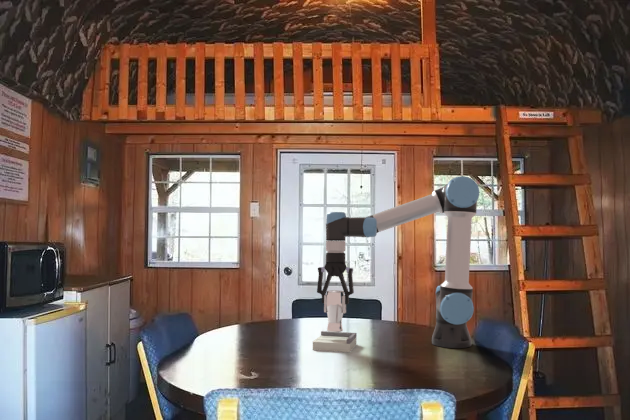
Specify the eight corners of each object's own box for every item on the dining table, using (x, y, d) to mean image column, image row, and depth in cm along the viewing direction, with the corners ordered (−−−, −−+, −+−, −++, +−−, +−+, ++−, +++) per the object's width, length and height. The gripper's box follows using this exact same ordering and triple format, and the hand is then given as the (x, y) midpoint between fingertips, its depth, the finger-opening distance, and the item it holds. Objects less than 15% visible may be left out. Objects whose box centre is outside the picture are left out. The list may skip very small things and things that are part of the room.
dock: (356, 344, 202) (356, 332, 202) (349, 352, 189) (349, 339, 189) (321, 342, 206) (321, 331, 206) (312, 349, 192) (312, 337, 192)
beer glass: (323, 331, 196) (323, 291, 196) (329, 328, 202) (329, 290, 203) (340, 333, 193) (340, 292, 194) (346, 330, 199) (346, 290, 200)
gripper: (362, 252, 200) (361, 312, 199) (313, 251, 205) (312, 309, 204) (359, 252, 193) (358, 315, 192) (308, 251, 198) (307, 312, 197)
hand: (335, 312), depth 198 cm, fingers closed on beer glass, 7 cm apart
